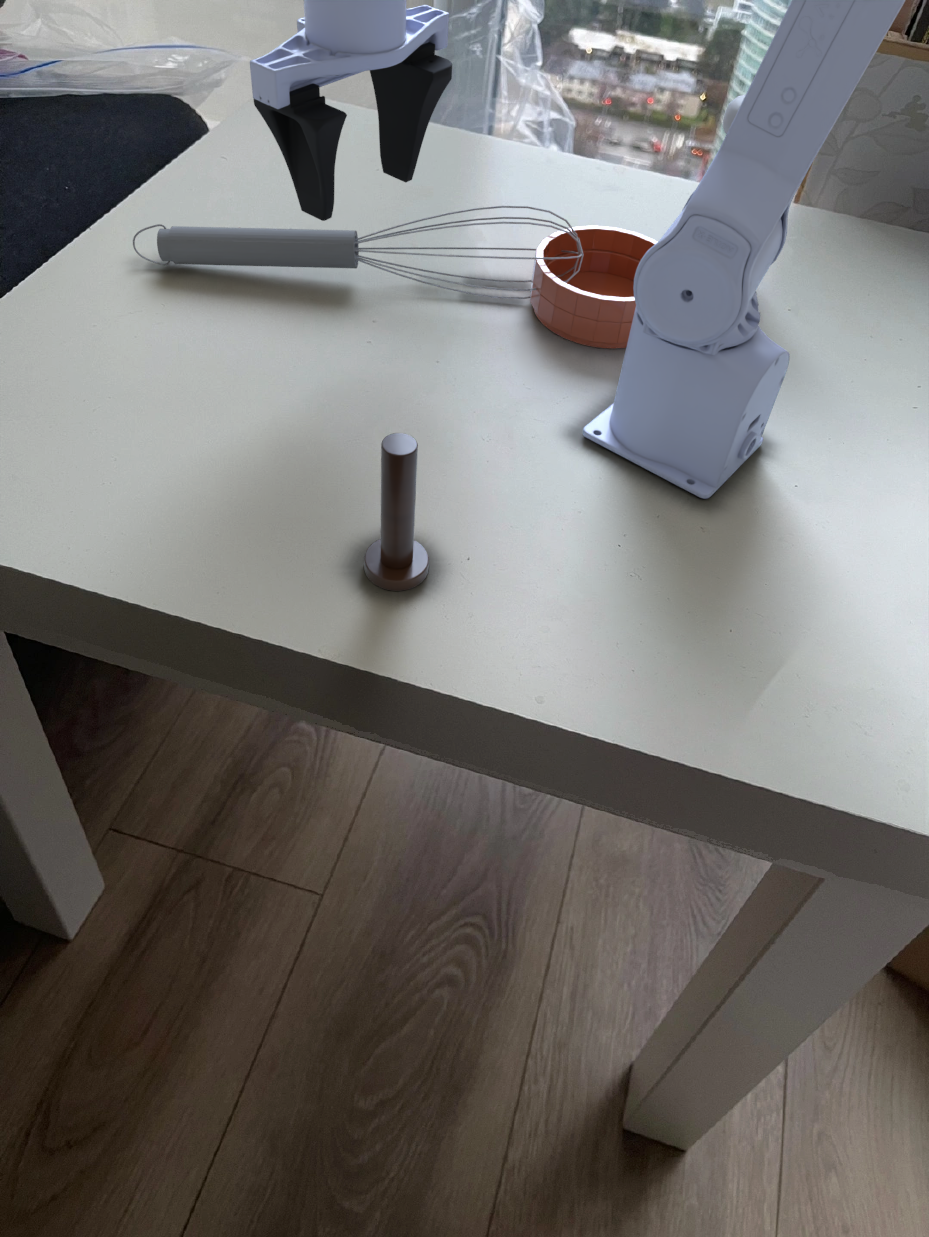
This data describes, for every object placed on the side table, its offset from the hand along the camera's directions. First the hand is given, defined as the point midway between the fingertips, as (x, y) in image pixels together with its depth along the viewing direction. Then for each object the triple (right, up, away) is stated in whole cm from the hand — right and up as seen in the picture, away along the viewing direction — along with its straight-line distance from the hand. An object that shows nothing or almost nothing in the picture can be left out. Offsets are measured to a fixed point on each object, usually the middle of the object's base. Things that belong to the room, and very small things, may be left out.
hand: (358, 194), depth 61 cm
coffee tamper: (+3, -24, -8) cm, 26 cm away
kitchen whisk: (-1, -2, +11) cm, 12 cm away
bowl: (+17, -4, +11) cm, 21 cm away
